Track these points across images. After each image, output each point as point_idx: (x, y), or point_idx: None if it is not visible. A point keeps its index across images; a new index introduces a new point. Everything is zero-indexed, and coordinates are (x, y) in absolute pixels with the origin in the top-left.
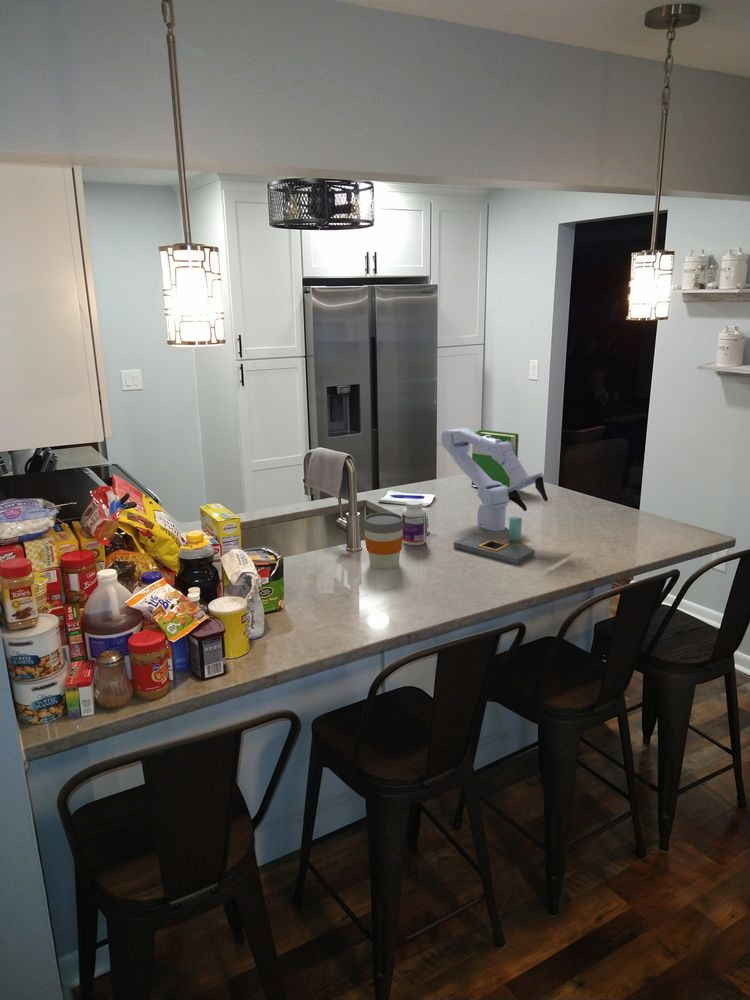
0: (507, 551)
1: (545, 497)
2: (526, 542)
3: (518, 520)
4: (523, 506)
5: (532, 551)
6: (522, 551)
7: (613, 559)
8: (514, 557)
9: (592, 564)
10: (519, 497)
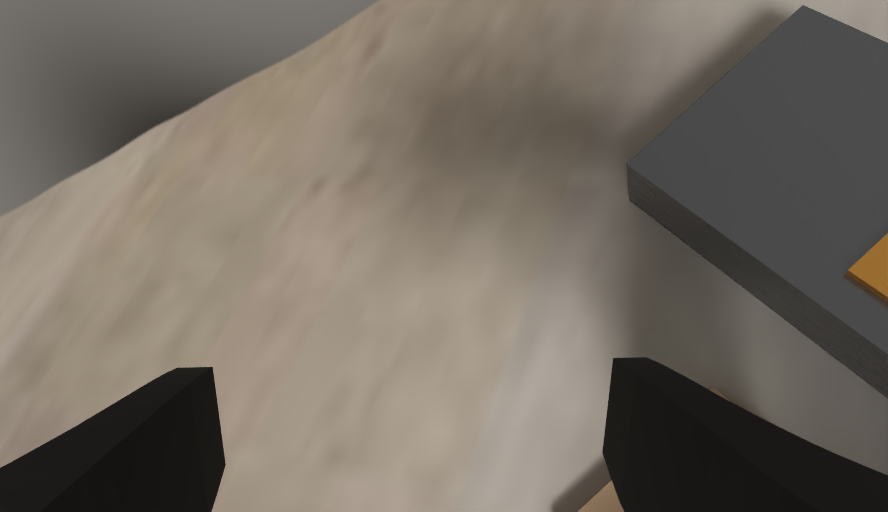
0: (879, 133)
1: (194, 374)
2: (612, 491)
3: None
4: (679, 376)
5: (649, 144)
6: (735, 134)
7: (214, 182)
8: (827, 25)
9: (336, 122)
10: (797, 481)
